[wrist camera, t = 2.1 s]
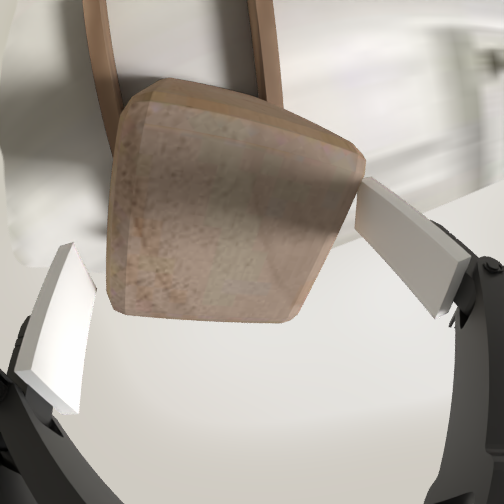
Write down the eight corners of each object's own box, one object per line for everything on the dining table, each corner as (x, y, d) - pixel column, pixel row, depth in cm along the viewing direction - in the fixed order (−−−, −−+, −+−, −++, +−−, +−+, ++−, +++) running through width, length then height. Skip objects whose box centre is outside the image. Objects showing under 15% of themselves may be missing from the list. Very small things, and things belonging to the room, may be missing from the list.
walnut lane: (258, -32, 18) (273, -48, 14) (281, 208, 35) (296, 230, 31) (90, -2, 16) (74, -13, 12) (146, 238, 33) (143, 264, 29)
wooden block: (259, 97, 27) (382, 157, 11) (231, 186, 32) (297, 330, 16) (158, 75, 23) (120, 89, 7) (139, 171, 28) (104, 321, 13)
